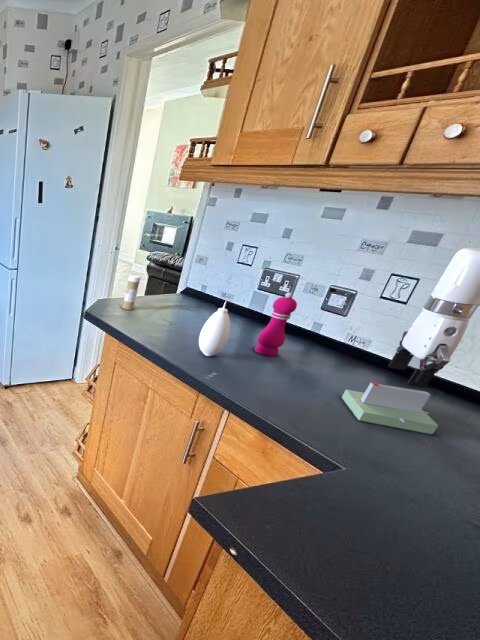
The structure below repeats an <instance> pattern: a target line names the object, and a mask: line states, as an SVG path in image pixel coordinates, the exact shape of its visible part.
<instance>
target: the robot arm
mask: <svg viewBox="0 0 480 640" xmlns="http://www.w3.org/2000/svg"><path fill="white" fill-rule="evenodd" d="M479 306H480V247H471V246H469V247H464V248H461V249H459V250H458V251H457V252H456V253H454V256H452V258H451V260H450V262H449V263H448V265H447V267H446V269H445V270H444V271H443V274H442V275H441V277H440V278H439V280H438V282H437V283H436V284H435V287H434V288H433V290H432V292H431V293H430V295H429V297H428V298H427V300H426V302H425V304H424V305H423V307H422V309H421V310H422V311H421V312H420V314H419V315H418V316H417V318H416V319H415V320H414V322H413V323H412V324H411V325H410V327H409V328H408V330H406V331H404V332H403V333H402V337H401V340H399V346H397V348H396V351H395V353H394V355H393V357H392V359H391V360H390V362H389V364H388V366H387V367H388V368H389V369H394V370H395V369H396V370H400V371H404V370H406V369H407V367H408V366H409V364H410V362H411V361H412V359H413V357H416V358H417V359H419V367H418V368H416V369H414V372H413V373H412V374H411V376H410V377H409V379H408V381H407V382H406V384H407V385H408V386H412V387H418V388H422V389H423V388H426V387H427V386H428V385H429V383H430V382H431V380H432V379H433V377H434V376H435V374H437V373H439V371H441V370H443V369H444V367H445V366H446V365H448V364H449V363H450V362H451V358H452V356H453V354H454V352H455V351H456V350H457V348H458V346H459V344H460V342H461V340H462V339H463V337H464V335H465V332H466V331H467V328H468V325H469V322H470V319H471V318H472V317H473V315H474V314H475V313H476V311H477V309H478V308H479ZM428 362H429V363H428Z"/></svg>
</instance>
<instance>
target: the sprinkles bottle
mask: <svg viewBox="0 0 480 640" xmlns="http://www.w3.org/2000/svg"><path fill="white" fill-rule="evenodd" d="M141 278H142V277H141V275H138V274H129V276H128V278H127V285H126V290H125V294H124V299H123V303H122V308H123V309H124V310H134V309H135V307H134V306H135V302H136V298H137V295H138V290H139V286H140V285H139V284H140V282H141Z"/></svg>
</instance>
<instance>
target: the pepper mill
mask: <svg viewBox="0 0 480 640" xmlns="http://www.w3.org/2000/svg"><path fill="white" fill-rule="evenodd" d="M292 297H293V293H292V292H290V291H288V292H286V293H285V294H284V296H279V297H278V298H276V299H275V300H274V301H273V303H272V308H273V310H272V311H271V314H270V316H271V318H270V321H269V322H268V323H267V325H266V326H265V327H264V328H263V329H262V330H261V331H260V332H259V334H258V335H257V337H256V338H257V339H256V340H257V344H256V345H255V347H254V351H255V352H256V353H258V354H260V355H262V356H266V357H267V356H268V357H274V356H277V355H278V353H279V350H280V349H279V348H280V347H282V346H284V344H285V341H286V334H285V326H286V324H287V322H288V320H290V319H291V316H292V313H294V312H295V311H296V309H297V306H298V302H297V301H296V300H295V298H292Z"/></svg>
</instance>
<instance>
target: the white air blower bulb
mask: <svg viewBox="0 0 480 640" xmlns="http://www.w3.org/2000/svg"><path fill="white" fill-rule="evenodd" d="M226 305H227V300H225V302H224V304H223V306H222V307H219V308H218V309H217V311H215V312H213V313H212V315H210V316H209V318H208V319H207V320H206V321H205V323H204V325H203V326H202V328H201V330H200V333H199V335H198V347H199V350H200V351H201V352H202V354H203V355H205V356H207V357H213V356H215V355H218V354H220V352H221V351H222V350H224V349H225V347H226V345H227V344H228V341H229V338H230V334H231V321H230V320H231V319H230V315H229V313H228V312H229V310H228V309H227V308H226Z"/></svg>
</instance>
